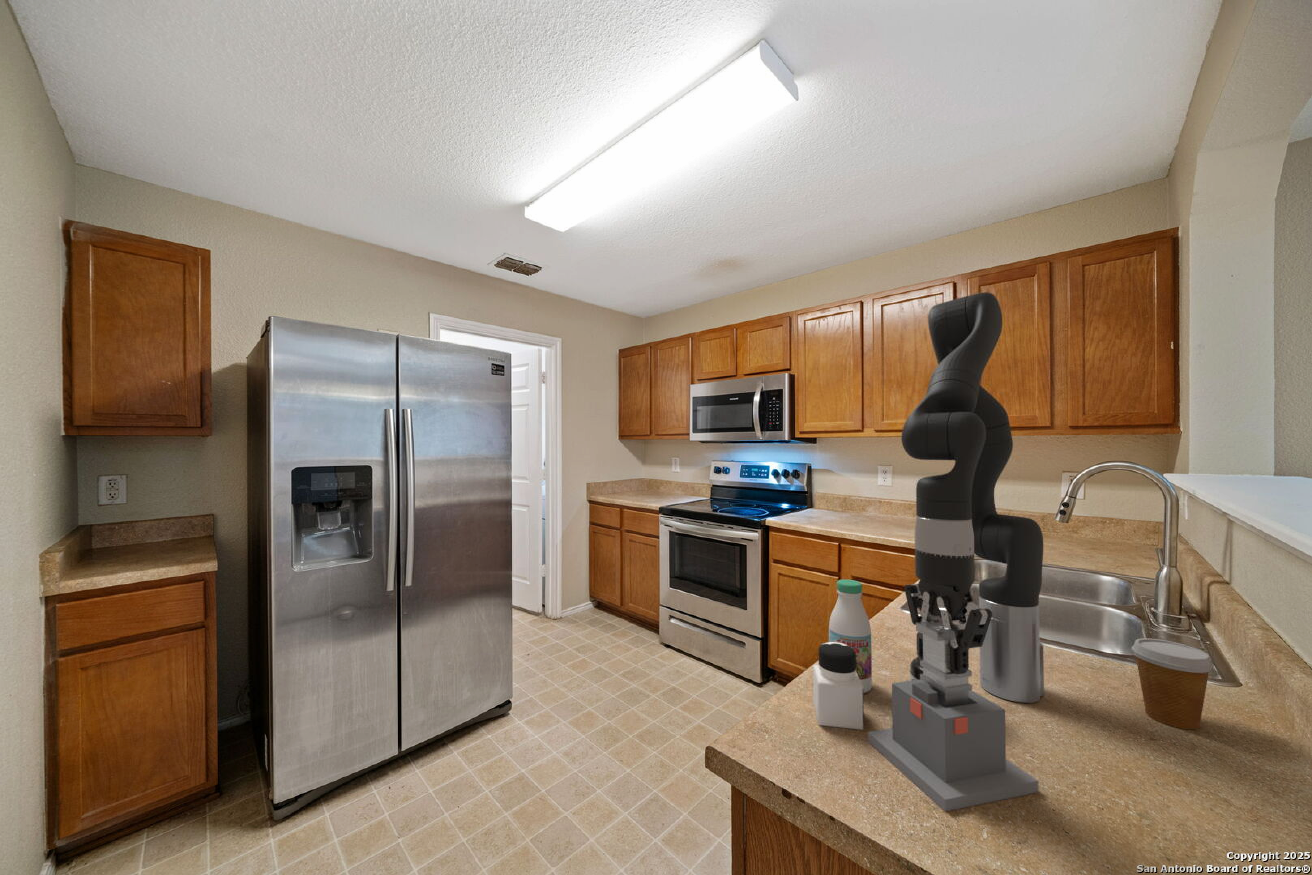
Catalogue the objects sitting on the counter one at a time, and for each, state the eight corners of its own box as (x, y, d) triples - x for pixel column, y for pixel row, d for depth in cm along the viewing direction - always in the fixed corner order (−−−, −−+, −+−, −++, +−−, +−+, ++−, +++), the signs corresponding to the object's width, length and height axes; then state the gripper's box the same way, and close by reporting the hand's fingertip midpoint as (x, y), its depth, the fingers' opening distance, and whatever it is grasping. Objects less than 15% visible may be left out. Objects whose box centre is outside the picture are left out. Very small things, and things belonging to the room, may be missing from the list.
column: (951, 738, 73) (950, 618, 74) (977, 757, 69) (976, 629, 69) (915, 744, 72) (914, 621, 72) (940, 764, 67) (939, 633, 68)
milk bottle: (822, 676, 98) (821, 577, 98) (859, 674, 98) (858, 576, 99) (840, 696, 90) (839, 588, 90) (879, 694, 90) (879, 587, 91)
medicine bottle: (864, 730, 79) (863, 656, 79) (818, 725, 80) (818, 653, 80) (855, 707, 86) (854, 639, 86) (813, 703, 87) (812, 636, 87)
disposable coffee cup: (1193, 711, 85) (1192, 642, 85) (1229, 741, 76) (1227, 664, 76) (1122, 699, 89) (1121, 633, 89) (1148, 727, 80) (1147, 654, 80)
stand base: (947, 728, 79) (946, 658, 80) (1038, 791, 65) (1037, 705, 65) (867, 741, 76) (867, 667, 76) (945, 811, 61) (944, 720, 62)
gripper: (1009, 557, 65) (1011, 686, 65) (927, 538, 79) (928, 643, 79) (963, 560, 63) (965, 692, 63) (888, 540, 77) (889, 648, 77)
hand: (945, 664), depth 71 cm, fingers closed on column, 4 cm apart
